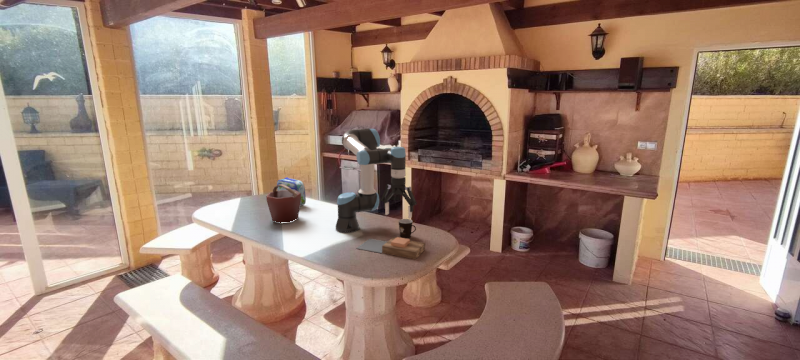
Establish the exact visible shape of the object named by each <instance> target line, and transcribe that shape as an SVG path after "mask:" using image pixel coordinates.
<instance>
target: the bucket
mask: <svg viewBox="0 0 800 360" xmlns="http://www.w3.org/2000/svg"><path fill="white" fill-rule="evenodd" d="M279 186H282V187H284V188H285V189H287V190H280V191H277V188H278V187H279ZM300 202H301V193H299V192H298V191H296V190H292V189H291V188H289V187H288V186H286V185H283V184H280V185H277V184H276V185H275V186H273V188H272V191H270V192H269V193H268V194H267V195H266V203H267V204H266V205H267V207H268V210H269V213H270V216H271V220H272V222H273V221H276V222H280V223H281V222H290V221H293V220H295V219H297V218H298V219H299V216H300V215H299V214H300V207H301V206H300ZM298 219H297V220H298ZM295 221H296V220H295ZM280 223H279V224H280Z"/></svg>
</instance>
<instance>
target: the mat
mask: <svg viewBox="0 0 800 360" xmlns="http://www.w3.org/2000/svg"><path fill="white" fill-rule="evenodd" d="M387 242H388V241H386V240H380V239H375V238H368V239H367V240H365V241H364V242H363V243H362V244H360V245H358V246H357V247H356V249H357V250H361V251H365V252H366V251H367V252H372V253H378V254H383V253H382V246H383V245H384V244H385V243H387ZM356 249H355V250H356Z"/></svg>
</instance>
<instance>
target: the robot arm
mask: <svg viewBox="0 0 800 360" xmlns="http://www.w3.org/2000/svg"><path fill="white" fill-rule="evenodd" d="M341 145H342V146H343V147H344V149H346V150H348V151H351V152H352V153H353V154H354V156H356V162H357V164H358V165H360V188H359V190H357V194H356V193H355V192H352V191H351V192H348V191H347V192H343V193H341V194H339V195H338V197H337V201H336V204H337V220H336V224H335V231H337V232H338V231H339V233H347V234H348V233H354V232H357V231H358V230H359V229H360V224H359V221H358V219H357V213H363V212H372V211H375V210H377V209H378V208H379V205H380V202H382V203H383V208H384V209H385V213H384V216H387V215H389V214H390V202H389V200H390V199H391V198H392V197H393V196H394V195H399V196H402V198H403V199H404V200H405V201H406V203H407V204H408V210H407V211H408V212H407V214H408V215H407V216H408V217H407V219H411V218H412V217H413V212H414V206H417V204H418V202H417V201H416V199H415V196H414V194H413V190H412V187H411V186H406V185H407V184H406V174H407V173H406V159H407V158H406V157H407V154H406V153H407V152H406V148H405V147H403V146H392V147H386V148H383V149H382V148H379V149H377V148H378V147H380V145H381V137H380V134H379V132H378V131H377V129H376V128H357V129H356V128H354V129H349V130H347V131H345V133H343V135H342V137H341ZM380 164H381V165H382V164H390V177H391V178H390V183H391V184H389V183H388V184H386V185H385V190H384V191H383V194H382V195H381V198H380V196H379V193H378V192H377V190H376V189H375V165H380ZM390 189H391V191H390ZM389 191H390V193H389ZM388 193H389V194H388Z"/></svg>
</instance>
